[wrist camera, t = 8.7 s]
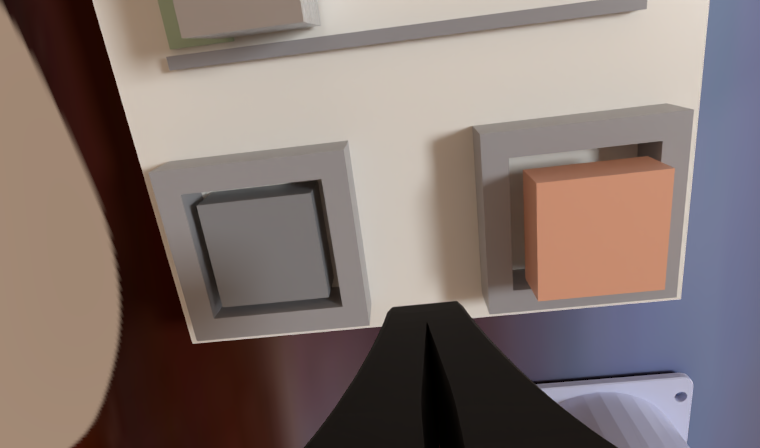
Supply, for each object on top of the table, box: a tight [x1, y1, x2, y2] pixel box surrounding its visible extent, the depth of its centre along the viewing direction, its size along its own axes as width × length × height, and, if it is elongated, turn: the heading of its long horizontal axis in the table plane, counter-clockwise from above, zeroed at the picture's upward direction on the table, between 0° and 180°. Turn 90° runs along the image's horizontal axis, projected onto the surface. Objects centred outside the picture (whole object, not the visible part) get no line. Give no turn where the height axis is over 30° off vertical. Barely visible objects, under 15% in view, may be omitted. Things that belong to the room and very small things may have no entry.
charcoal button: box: [196, 180, 334, 307], centre depth 17 cm, size 4×4×2 cm
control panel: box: [92, 0, 710, 344], centre depth 16 cm, size 16×18×4 cm
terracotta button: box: [523, 156, 675, 301], centre depth 15 cm, size 4×4×2 cm
